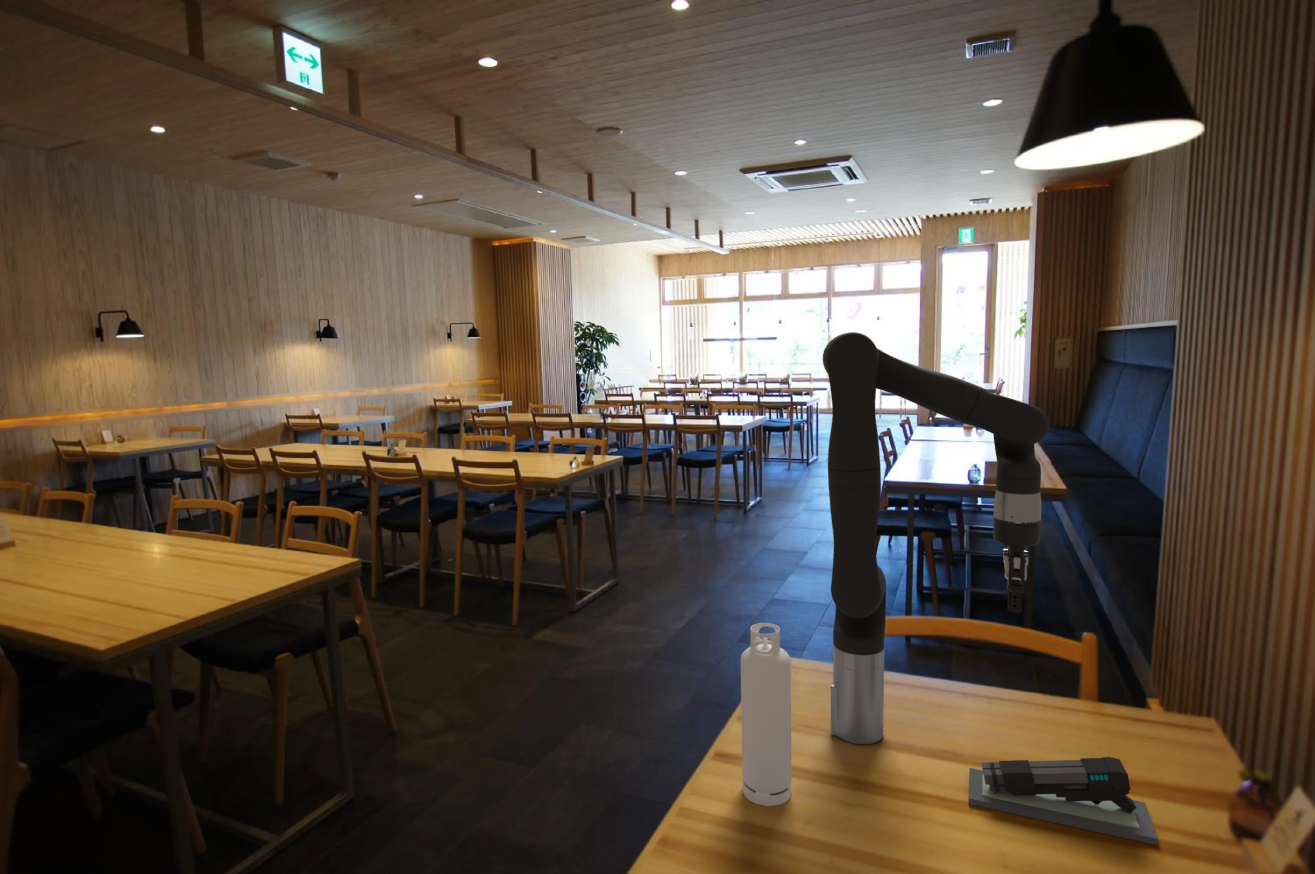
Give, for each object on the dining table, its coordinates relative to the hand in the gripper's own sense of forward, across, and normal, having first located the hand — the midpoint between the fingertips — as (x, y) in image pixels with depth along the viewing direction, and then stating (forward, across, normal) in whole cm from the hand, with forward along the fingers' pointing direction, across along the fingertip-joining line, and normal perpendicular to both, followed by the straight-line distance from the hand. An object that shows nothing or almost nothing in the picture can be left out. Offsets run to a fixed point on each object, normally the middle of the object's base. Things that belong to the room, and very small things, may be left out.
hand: (1014, 603), depth 127 cm
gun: (+25, +19, +6) cm, 32 cm away
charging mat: (+26, +19, +6) cm, 32 cm away
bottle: (+26, +32, -37) cm, 55 cm away
